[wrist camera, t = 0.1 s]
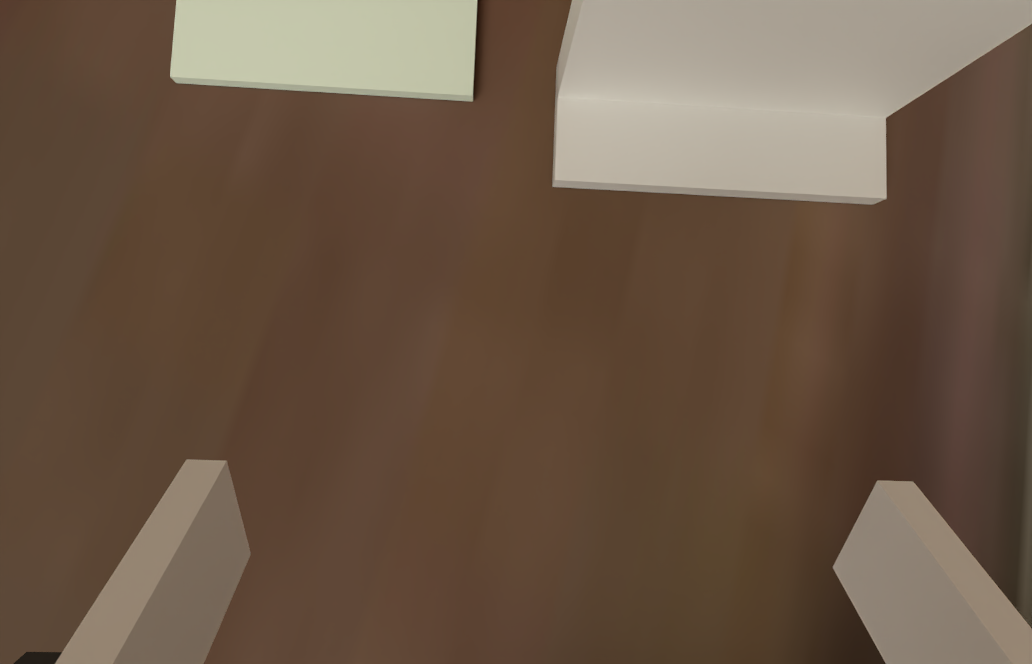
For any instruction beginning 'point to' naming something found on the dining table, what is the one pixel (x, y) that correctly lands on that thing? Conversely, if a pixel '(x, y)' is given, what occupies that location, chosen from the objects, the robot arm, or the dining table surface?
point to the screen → (754, 90)
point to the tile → (329, 46)
